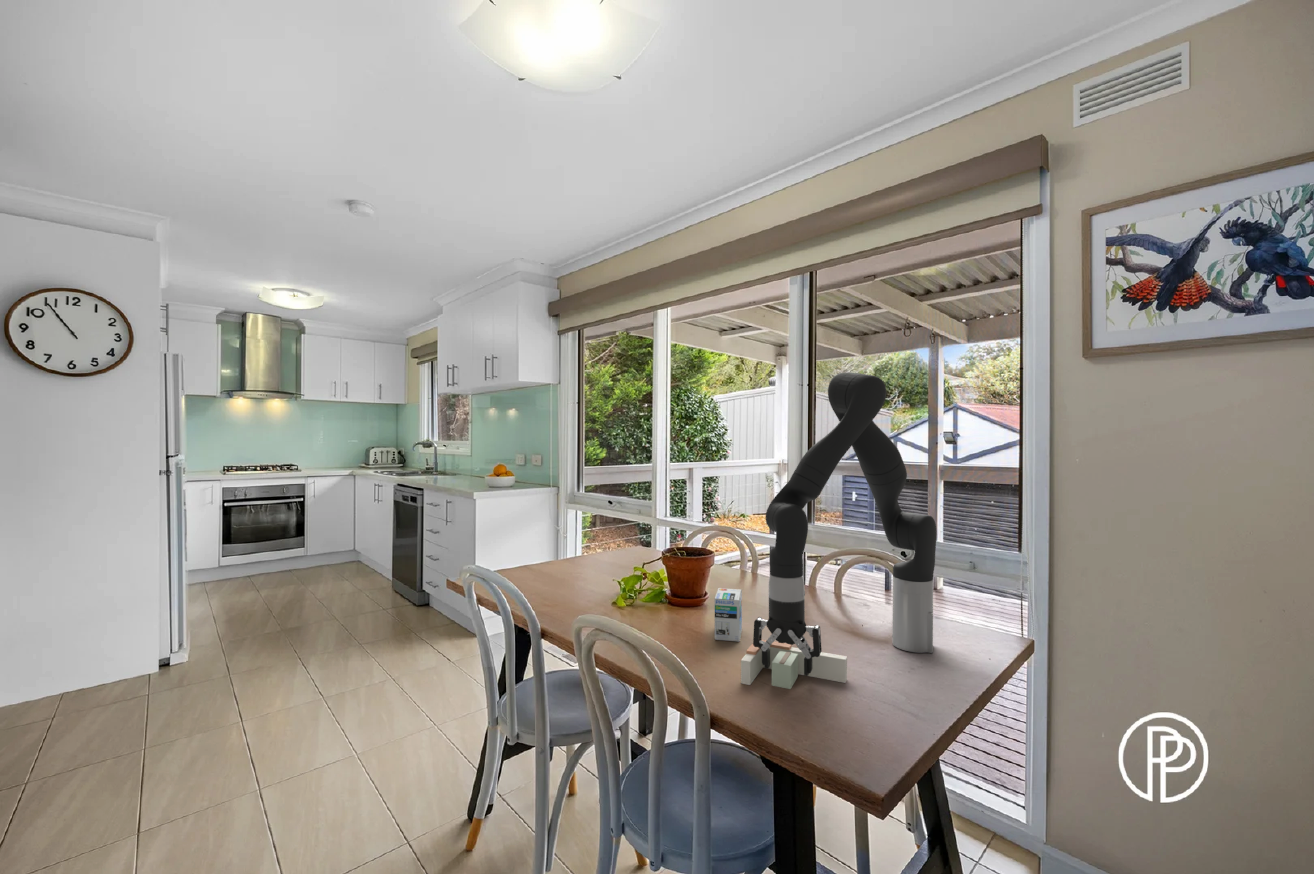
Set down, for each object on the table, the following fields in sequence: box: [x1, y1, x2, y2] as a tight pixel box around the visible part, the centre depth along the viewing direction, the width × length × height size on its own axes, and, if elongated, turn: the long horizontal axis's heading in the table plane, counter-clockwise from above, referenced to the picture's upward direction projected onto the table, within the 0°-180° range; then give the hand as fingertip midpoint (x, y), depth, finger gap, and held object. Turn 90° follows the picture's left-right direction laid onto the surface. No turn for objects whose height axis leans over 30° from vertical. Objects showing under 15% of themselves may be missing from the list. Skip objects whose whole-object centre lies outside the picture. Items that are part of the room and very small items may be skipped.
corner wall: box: [740, 639, 848, 686], centre depth 122 cm, size 20×12×6 cm, turn 64°
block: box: [771, 651, 799, 690], centre depth 123 cm, size 7×4×5 cm, turn 154°
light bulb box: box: [713, 587, 743, 642], centre depth 151 cm, size 11×7×11 cm, turn 168°
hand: (786, 670), depth 123 cm, fingers open, 8 cm apart
